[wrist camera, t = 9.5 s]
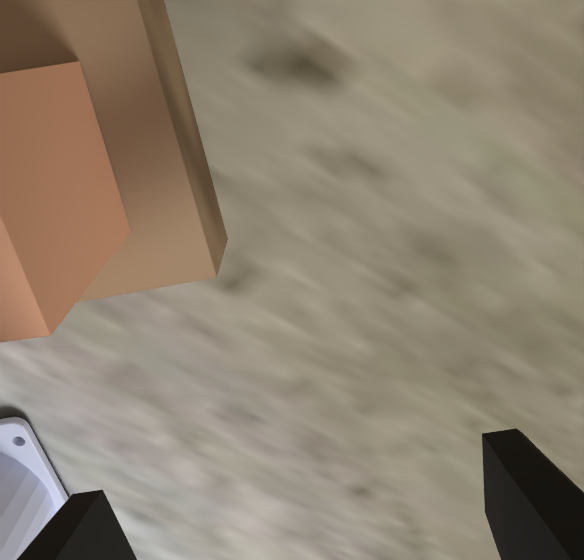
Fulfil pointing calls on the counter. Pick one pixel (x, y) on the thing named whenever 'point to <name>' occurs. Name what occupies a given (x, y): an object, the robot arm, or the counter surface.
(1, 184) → the terracotta block
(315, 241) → the counter surface
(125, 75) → the walnut base block
